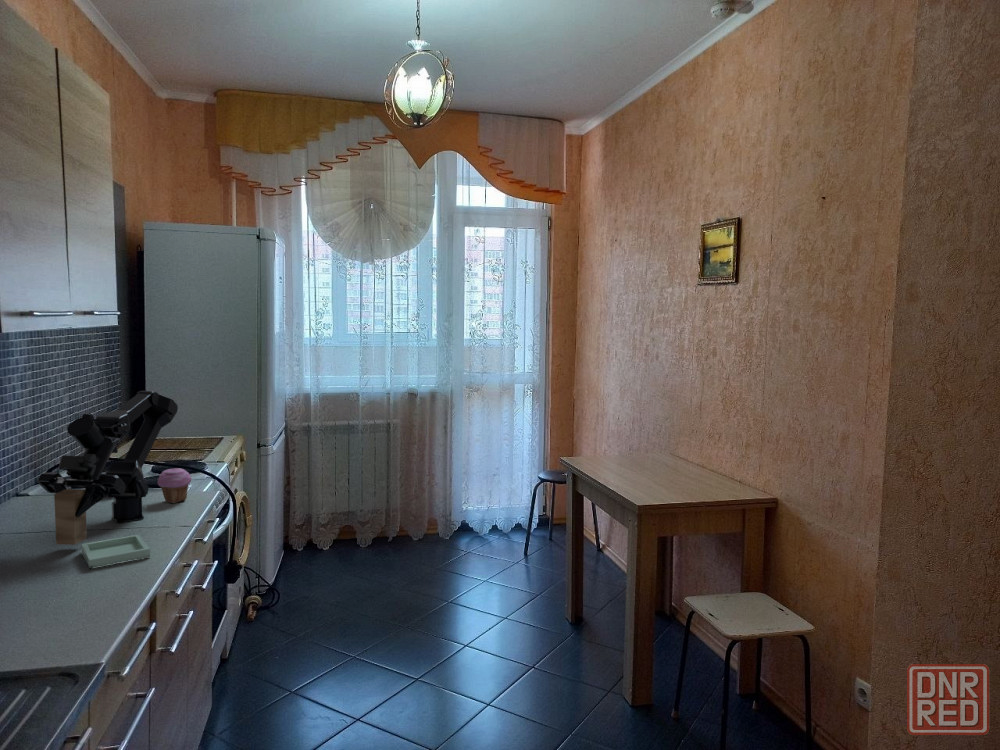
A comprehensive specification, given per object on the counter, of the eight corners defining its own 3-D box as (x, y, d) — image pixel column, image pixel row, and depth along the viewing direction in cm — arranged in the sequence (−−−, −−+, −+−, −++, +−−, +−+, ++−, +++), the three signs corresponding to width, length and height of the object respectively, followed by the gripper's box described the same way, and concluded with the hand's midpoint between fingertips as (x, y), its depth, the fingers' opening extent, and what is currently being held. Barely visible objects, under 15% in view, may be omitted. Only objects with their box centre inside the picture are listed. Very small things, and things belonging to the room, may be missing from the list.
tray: (139, 542, 163) (138, 534, 163) (149, 558, 154) (149, 548, 154) (81, 553, 155) (81, 544, 155) (89, 569, 146) (89, 560, 146)
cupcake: (171, 507, 192) (170, 473, 191) (151, 502, 195) (150, 469, 194) (197, 499, 199) (197, 467, 198) (178, 495, 203) (177, 463, 202)
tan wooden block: (68, 537, 160) (66, 489, 158) (86, 538, 160) (85, 489, 158) (56, 544, 155) (54, 494, 154) (74, 544, 155) (72, 494, 154)
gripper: (40, 439, 159) (7, 497, 149) (117, 442, 159) (89, 500, 149) (63, 464, 168) (34, 520, 158) (136, 466, 167) (112, 523, 158)
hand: (66, 515), depth 155 cm, fingers closed on tan wooden block, 4 cm apart
